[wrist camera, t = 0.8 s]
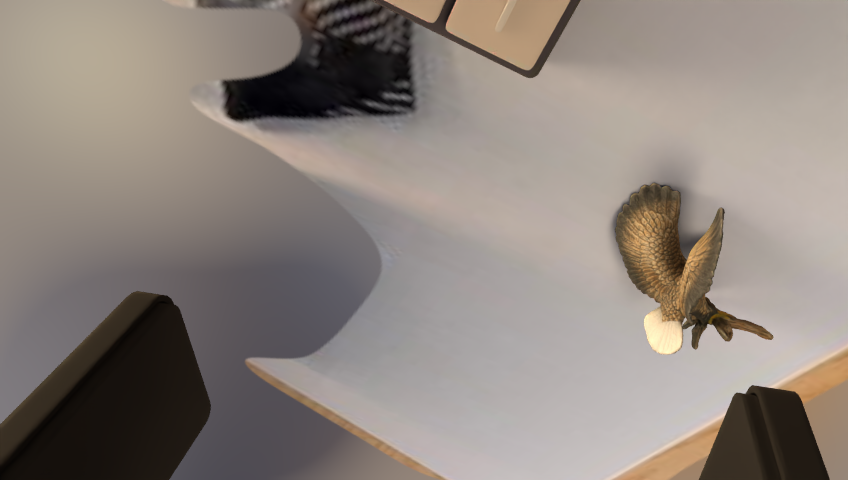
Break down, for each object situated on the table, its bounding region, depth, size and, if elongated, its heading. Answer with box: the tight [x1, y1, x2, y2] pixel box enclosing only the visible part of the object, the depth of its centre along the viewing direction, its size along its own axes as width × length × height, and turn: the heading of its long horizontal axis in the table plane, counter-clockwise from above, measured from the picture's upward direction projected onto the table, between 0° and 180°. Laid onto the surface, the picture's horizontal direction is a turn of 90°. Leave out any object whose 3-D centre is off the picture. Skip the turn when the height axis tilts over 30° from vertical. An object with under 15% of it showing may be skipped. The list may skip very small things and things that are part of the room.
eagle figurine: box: [615, 183, 773, 354], centre depth 34 cm, size 8×7×9 cm
